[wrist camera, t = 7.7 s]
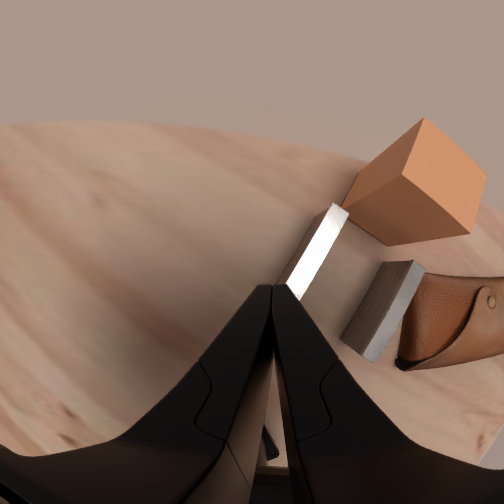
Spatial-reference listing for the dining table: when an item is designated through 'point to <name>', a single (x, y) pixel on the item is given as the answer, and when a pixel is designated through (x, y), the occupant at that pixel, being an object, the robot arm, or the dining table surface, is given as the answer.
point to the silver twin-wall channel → (377, 298)
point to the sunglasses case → (452, 322)
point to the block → (417, 189)
